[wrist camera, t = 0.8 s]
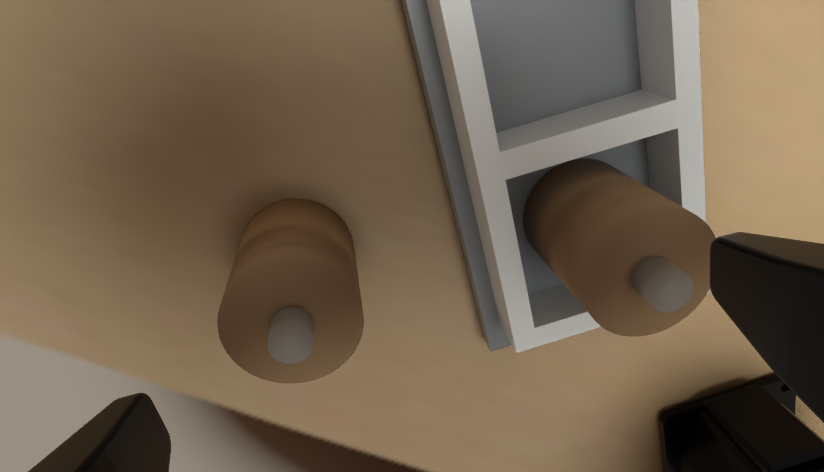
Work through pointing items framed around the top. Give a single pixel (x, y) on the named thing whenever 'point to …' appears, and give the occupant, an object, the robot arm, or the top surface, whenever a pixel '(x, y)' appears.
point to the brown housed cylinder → (619, 246)
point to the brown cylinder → (292, 294)
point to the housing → (552, 128)
